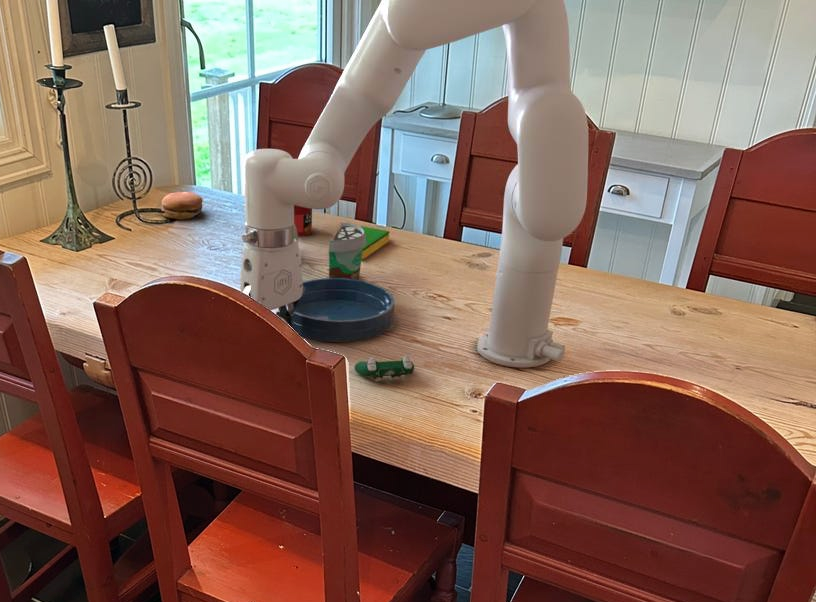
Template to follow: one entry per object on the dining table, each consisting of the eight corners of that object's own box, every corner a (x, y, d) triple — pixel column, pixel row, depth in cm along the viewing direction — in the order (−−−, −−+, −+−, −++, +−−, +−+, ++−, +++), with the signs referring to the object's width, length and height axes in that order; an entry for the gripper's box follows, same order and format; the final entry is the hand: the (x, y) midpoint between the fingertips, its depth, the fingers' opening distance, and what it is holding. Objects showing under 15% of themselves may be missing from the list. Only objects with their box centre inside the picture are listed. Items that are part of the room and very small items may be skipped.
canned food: (311, 237, 190) (311, 186, 184) (275, 236, 190) (275, 185, 184) (312, 226, 196) (313, 177, 190) (278, 225, 196) (277, 176, 190)
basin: (416, 320, 153) (417, 299, 151) (339, 354, 141) (340, 332, 139) (335, 289, 164) (335, 269, 162) (258, 318, 152) (257, 297, 150)
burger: (166, 221, 196) (164, 201, 194) (158, 210, 203) (156, 190, 201) (208, 218, 199) (207, 198, 197) (198, 207, 206) (197, 187, 204)
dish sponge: (332, 254, 181) (333, 243, 180) (360, 236, 191) (361, 225, 190) (362, 260, 178) (363, 248, 177) (389, 241, 189) (390, 230, 187)
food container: (358, 295, 162) (360, 243, 157) (327, 292, 163) (328, 240, 158) (369, 272, 172) (372, 223, 167) (340, 270, 173) (341, 221, 168)
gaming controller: (355, 387, 135) (362, 376, 129) (353, 364, 136) (359, 352, 130) (411, 384, 137) (420, 372, 131) (409, 361, 137) (417, 349, 131)
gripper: (244, 253, 125) (248, 364, 135) (325, 228, 135) (322, 333, 146) (212, 240, 129) (218, 349, 139) (292, 217, 139) (292, 320, 150)
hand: (271, 340), depth 142 cm, fingers closed on egg, 5 cm apart
